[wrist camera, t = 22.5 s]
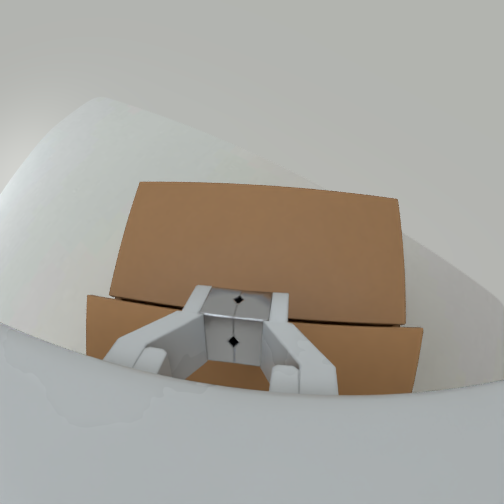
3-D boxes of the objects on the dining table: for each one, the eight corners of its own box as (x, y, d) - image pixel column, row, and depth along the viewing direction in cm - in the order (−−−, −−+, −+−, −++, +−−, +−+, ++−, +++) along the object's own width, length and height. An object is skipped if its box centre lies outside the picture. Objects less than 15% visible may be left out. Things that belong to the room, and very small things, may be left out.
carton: (354, 260, 26) (398, 197, 16) (343, 425, 21) (391, 464, 11) (184, 246, 28) (139, 180, 18) (160, 404, 23) (90, 424, 12)
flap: (420, 327, 12) (423, 328, 11) (388, 460, 11) (390, 464, 11) (91, 294, 13) (86, 294, 13) (95, 421, 13) (91, 424, 12)
